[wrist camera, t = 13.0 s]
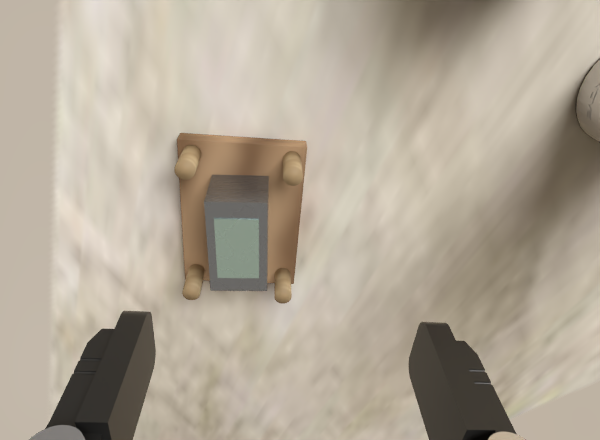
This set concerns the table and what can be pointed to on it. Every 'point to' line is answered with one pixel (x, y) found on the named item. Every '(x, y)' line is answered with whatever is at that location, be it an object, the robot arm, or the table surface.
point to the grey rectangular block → (237, 232)
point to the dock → (241, 161)
